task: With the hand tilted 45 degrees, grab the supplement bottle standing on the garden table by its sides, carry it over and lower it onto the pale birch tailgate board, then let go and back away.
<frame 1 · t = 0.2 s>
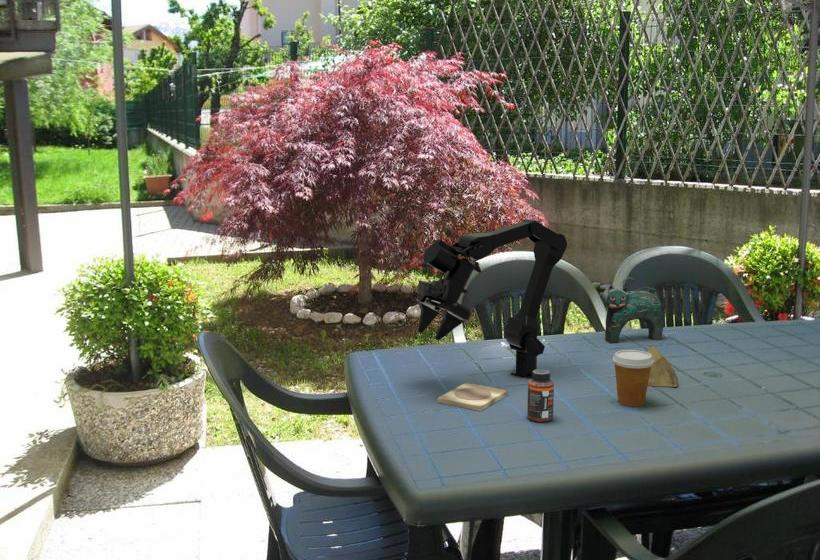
hand: (427, 336, 217), 15 cm above the table, fingers open, 9 cm apart
ceramic cat: (631, 340, 269), on the table
tailgate board: (472, 398, 215), on the table
supplement bottle: (540, 419, 201), on the table
disposable coffee cup: (631, 403, 211), on the table
rock: (657, 385, 225), on the table
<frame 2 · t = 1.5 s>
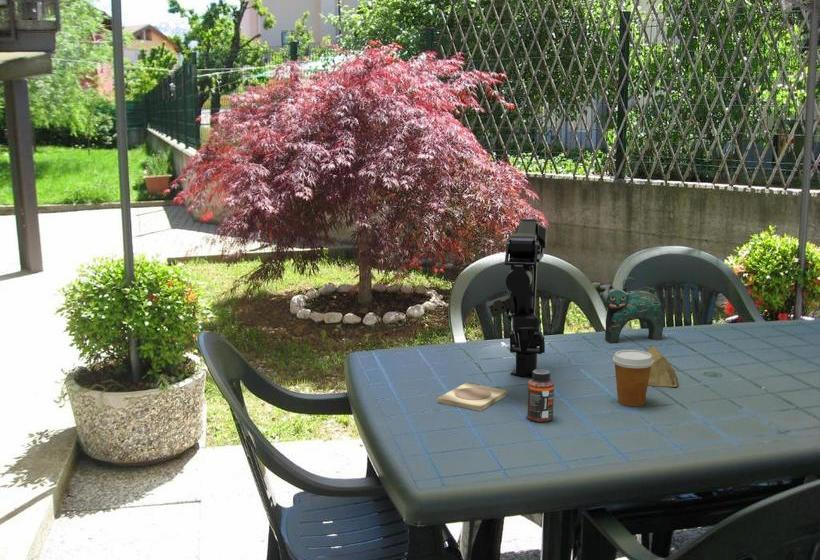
hand: (520, 348, 216), 12 cm above the table, fingers open, 9 cm apart
nothing on the table moved.
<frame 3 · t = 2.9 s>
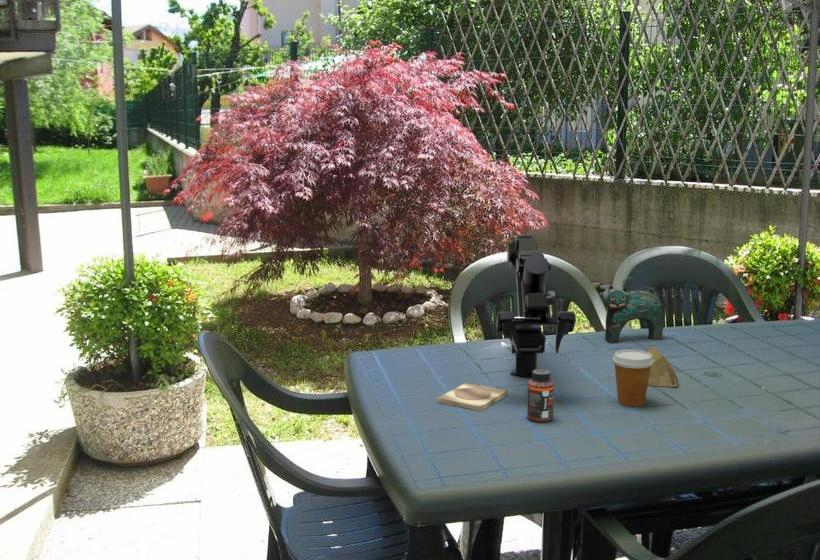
hand: (537, 352, 206), 13 cm above the table, fingers open, 9 cm apart
nothing on the table moved.
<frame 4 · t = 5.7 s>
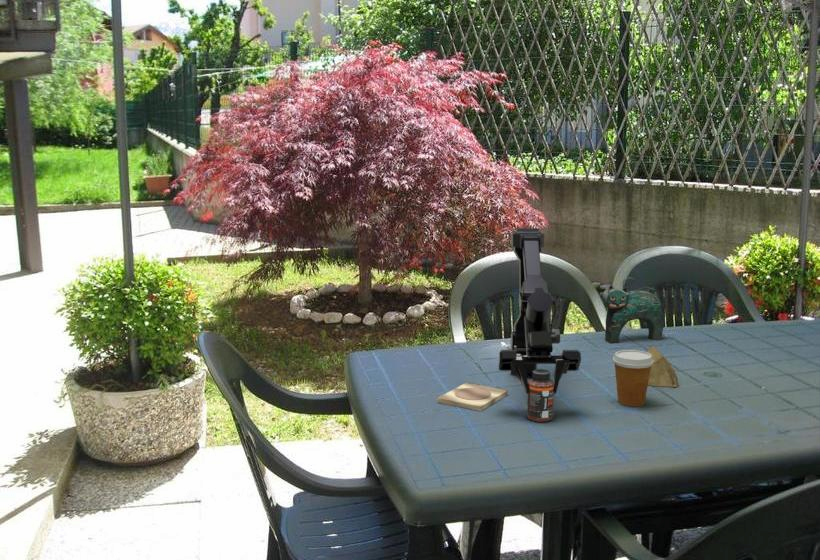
hand: (541, 393, 198), 7 cm above the table, fingers closed on supplement bottle, 6 cm apart
supplement bottle: (540, 419, 201), on the table, touching gripper
everything else where it was.
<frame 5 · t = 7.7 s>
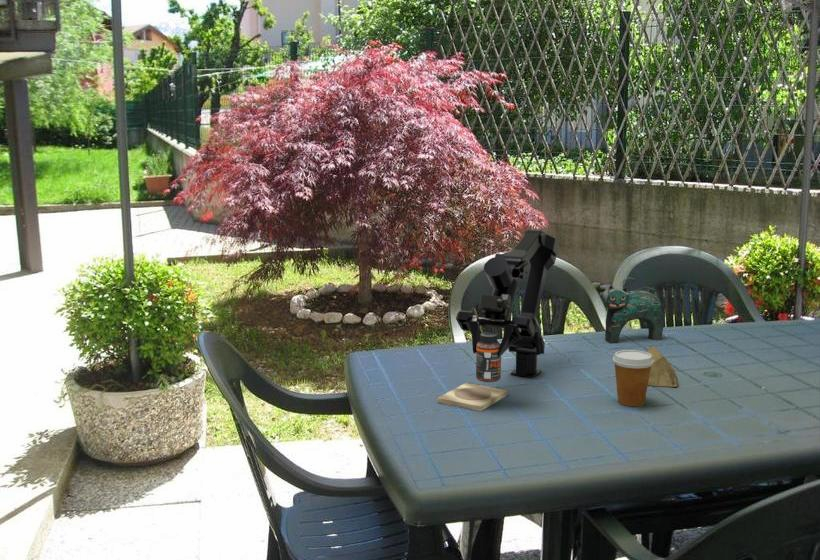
hand: (486, 354, 206), 13 cm above the table, fingers closed on supplement bottle, 6 cm apart
supplement bottle: (488, 380, 209), point 6 cm above the table, touching gripper
everything else where it was.
when the fingers open (9 cm above the table, at t = 9.6 s): supplement bottle stays where it is, resting on tailgate board.
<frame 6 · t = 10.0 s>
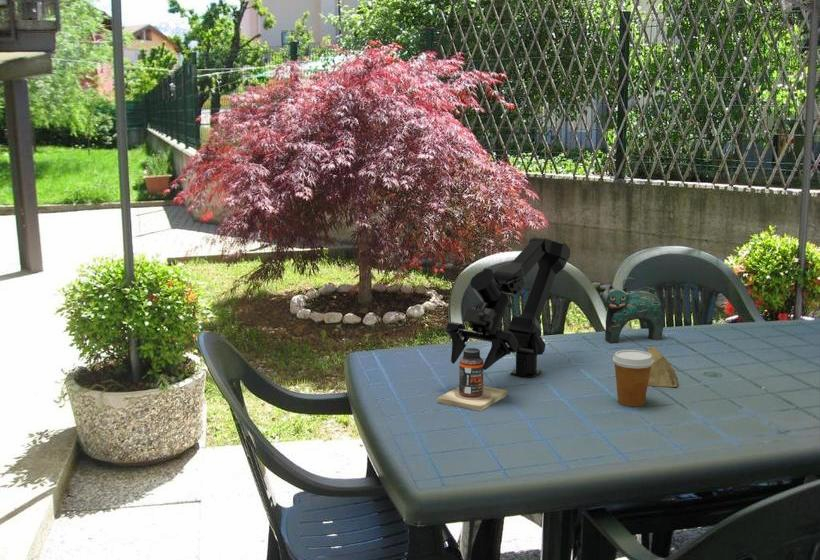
hand: (467, 365, 211), 9 cm above the table, fingers open, 9 cm apart
supplement bottle: (471, 395, 214), point 1 cm above the table, touching tailgate board
everything else where it was.
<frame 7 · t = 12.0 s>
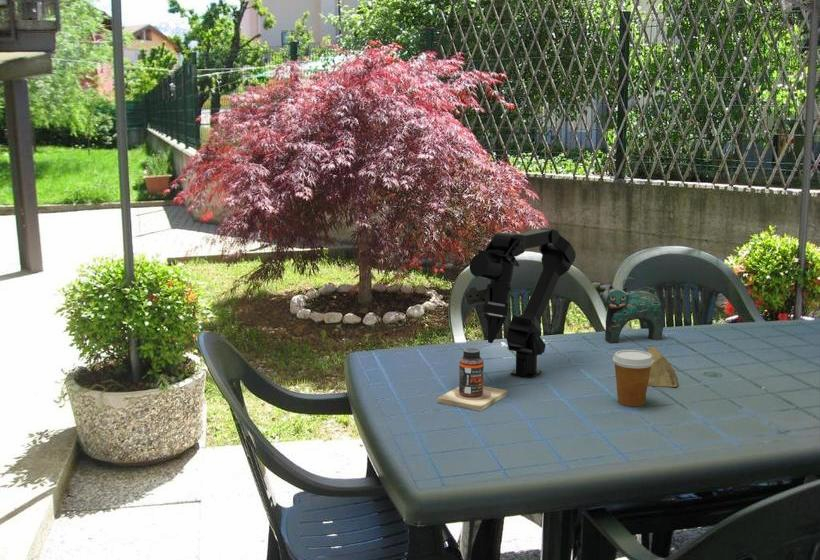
hand: (490, 342, 221), 12 cm above the table, fingers open, 9 cm apart
nothing on the table moved.
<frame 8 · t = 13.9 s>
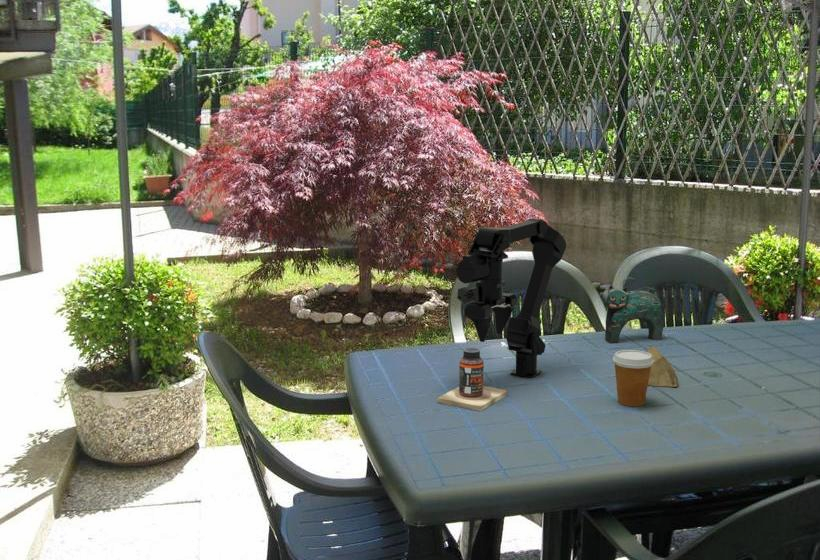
hand: (490, 337, 222), 13 cm above the table, fingers open, 9 cm apart
nothing on the table moved.
at the end: supplement bottle inside the target area on the tailgate board (0.8 cm from its centre), point 1.2 cm above the tailgate board's base; supplement bottle tilted 0°; the gripper is holding nothing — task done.
